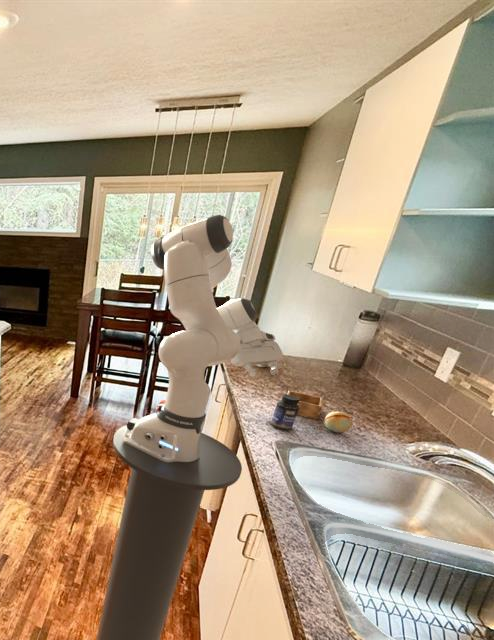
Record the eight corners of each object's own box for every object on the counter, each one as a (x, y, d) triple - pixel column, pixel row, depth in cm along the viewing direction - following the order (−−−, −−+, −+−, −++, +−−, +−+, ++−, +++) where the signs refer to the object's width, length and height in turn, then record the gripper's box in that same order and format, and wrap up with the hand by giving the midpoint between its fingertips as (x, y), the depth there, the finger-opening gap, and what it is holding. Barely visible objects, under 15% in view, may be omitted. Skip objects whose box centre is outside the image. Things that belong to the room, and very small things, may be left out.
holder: (281, 410, 146) (285, 398, 144) (284, 401, 153) (288, 390, 151) (317, 419, 140) (322, 407, 138) (318, 410, 147) (323, 397, 145)
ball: (320, 424, 137) (327, 406, 134) (346, 430, 133) (354, 411, 130) (321, 432, 131) (329, 413, 129) (348, 438, 128) (357, 419, 125)
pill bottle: (281, 431, 131) (291, 401, 127) (265, 422, 136) (275, 393, 132) (296, 430, 132) (307, 400, 128) (280, 421, 138) (290, 392, 133)
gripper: (233, 337, 137) (249, 373, 132) (277, 334, 143) (294, 369, 138) (219, 346, 143) (234, 380, 138) (263, 343, 148) (278, 376, 143)
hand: (265, 375), depth 138 cm, fingers open, 8 cm apart
